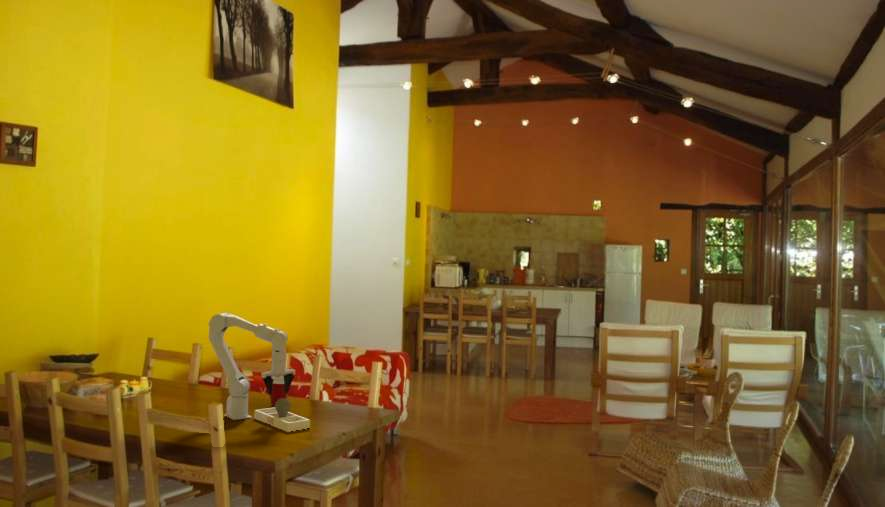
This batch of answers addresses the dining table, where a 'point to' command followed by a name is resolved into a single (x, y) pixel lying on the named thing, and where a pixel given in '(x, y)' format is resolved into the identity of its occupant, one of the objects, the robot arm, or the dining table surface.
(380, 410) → the dining table surface
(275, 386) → the plastic cup
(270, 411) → the rack
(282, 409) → the light bulb
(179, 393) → the dining table surface
